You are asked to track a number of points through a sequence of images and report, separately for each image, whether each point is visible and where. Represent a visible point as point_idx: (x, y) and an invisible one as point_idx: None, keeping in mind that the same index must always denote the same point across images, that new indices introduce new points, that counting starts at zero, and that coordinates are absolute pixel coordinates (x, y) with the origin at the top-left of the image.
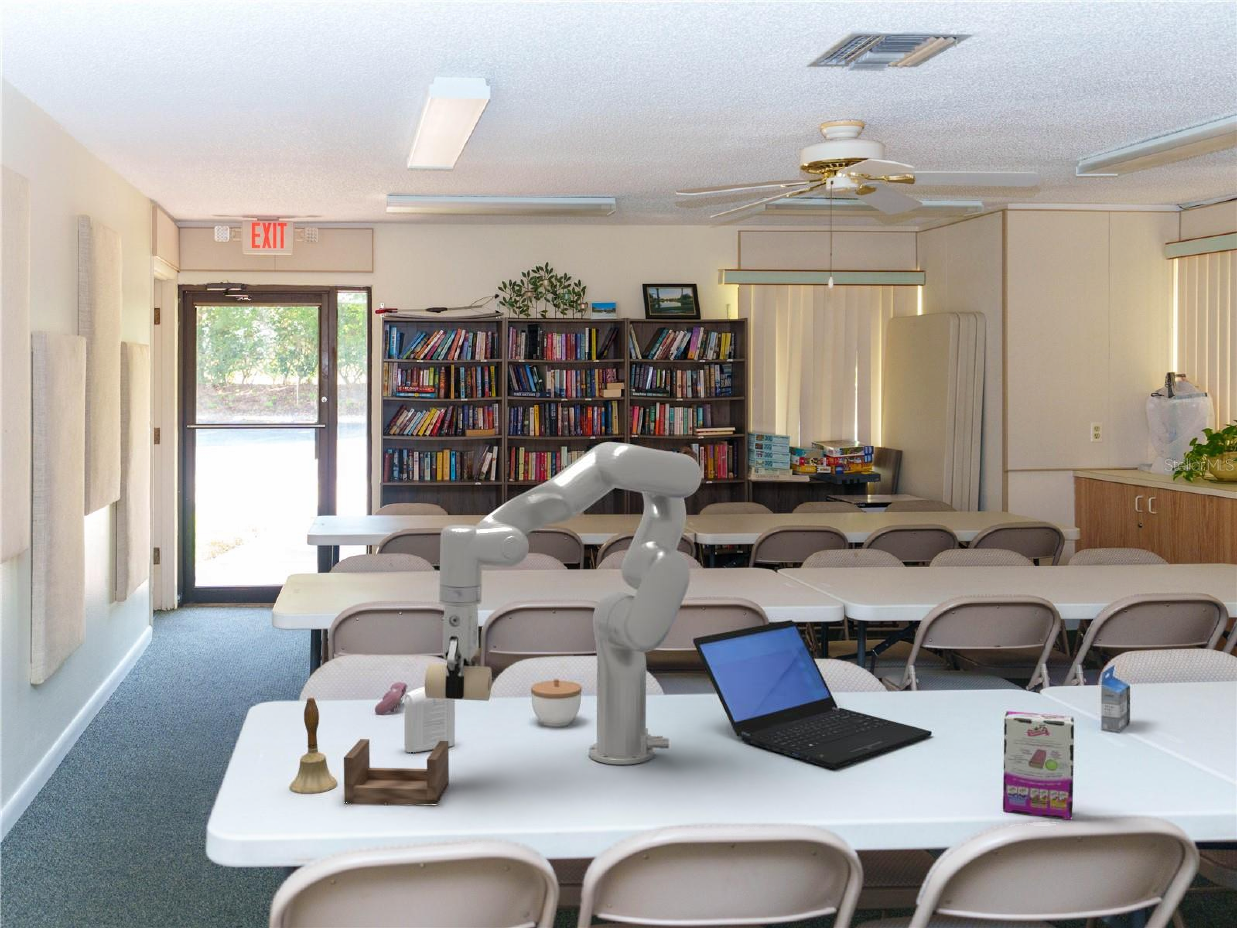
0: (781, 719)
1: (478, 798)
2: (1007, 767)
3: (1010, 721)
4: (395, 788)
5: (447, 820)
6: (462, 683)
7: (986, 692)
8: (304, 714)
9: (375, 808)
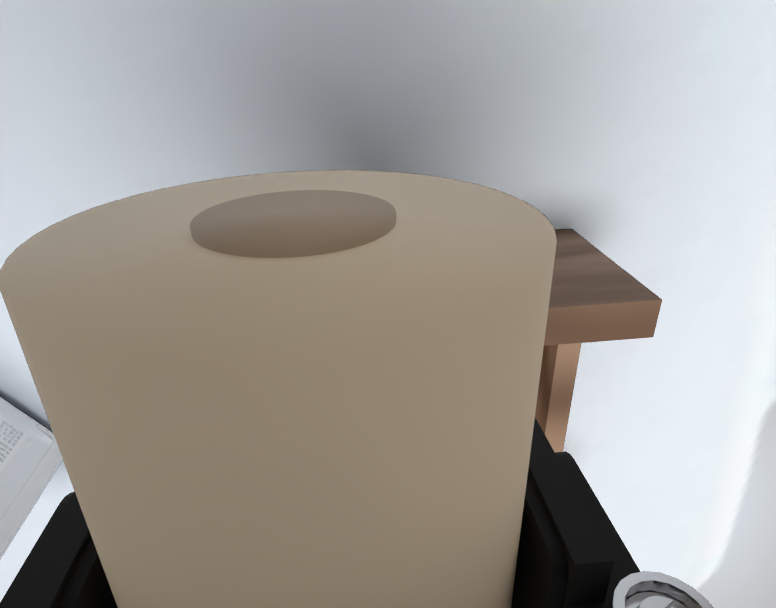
0: None
1: (506, 91)
2: None
3: None
4: (575, 376)
5: (711, 156)
6: (571, 495)
7: None
8: None
9: (581, 387)
